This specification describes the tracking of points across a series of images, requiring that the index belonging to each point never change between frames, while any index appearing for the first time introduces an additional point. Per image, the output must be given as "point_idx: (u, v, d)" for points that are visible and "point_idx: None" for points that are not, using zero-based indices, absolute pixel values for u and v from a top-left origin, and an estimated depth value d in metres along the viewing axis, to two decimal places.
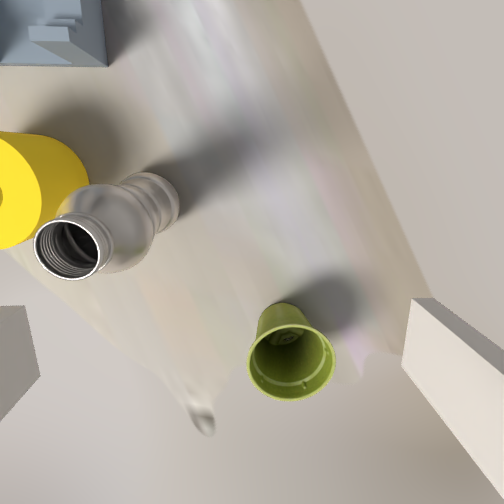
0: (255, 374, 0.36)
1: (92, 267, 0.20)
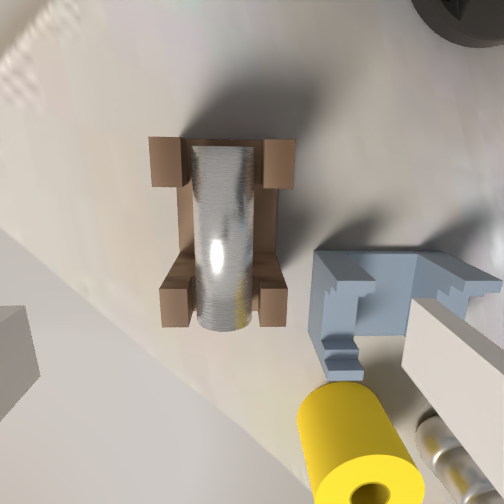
0: None
1: None
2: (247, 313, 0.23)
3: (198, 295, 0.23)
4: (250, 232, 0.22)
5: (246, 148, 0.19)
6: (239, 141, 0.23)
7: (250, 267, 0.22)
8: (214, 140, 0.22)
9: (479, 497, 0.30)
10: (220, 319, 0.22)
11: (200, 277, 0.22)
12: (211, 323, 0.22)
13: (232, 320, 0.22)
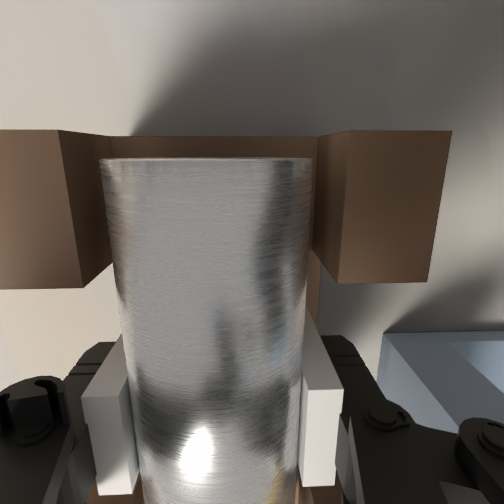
0: None
1: None
2: None
3: None
4: (297, 410, 0.07)
5: (293, 165, 0.05)
6: (256, 140, 0.08)
7: (293, 489, 0.08)
8: (188, 139, 0.08)
9: None
10: None
11: None
12: None
13: None
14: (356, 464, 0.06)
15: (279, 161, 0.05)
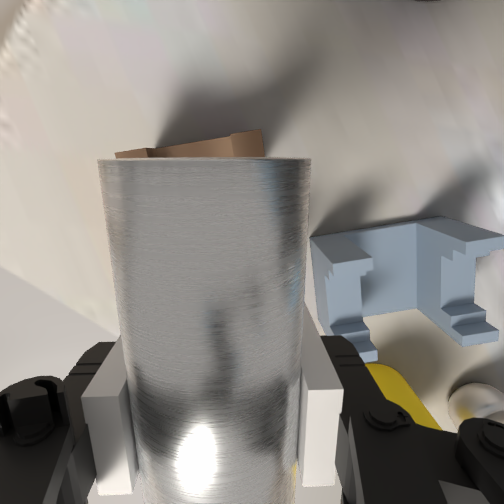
0: None
1: None
2: None
3: None
4: (296, 409, 0.07)
5: (291, 165, 0.05)
6: (208, 141, 0.22)
7: (293, 489, 0.08)
8: (183, 144, 0.22)
9: None
10: None
11: None
12: None
13: None
14: (356, 465, 0.06)
15: (277, 161, 0.05)
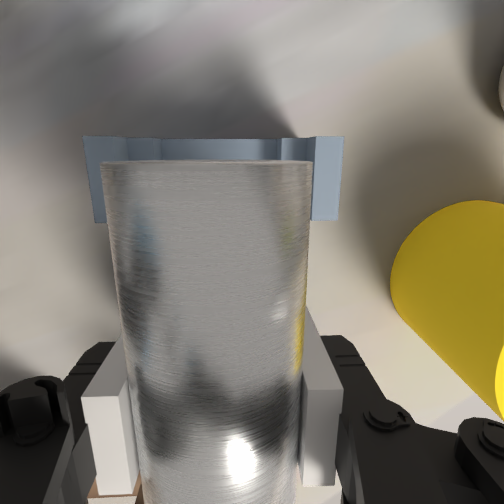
0: None
1: None
2: None
3: None
4: (297, 412, 0.07)
5: (293, 169, 0.05)
6: None
7: (293, 491, 0.08)
8: None
9: None
10: None
11: None
12: None
13: None
14: (356, 465, 0.06)
15: (279, 165, 0.05)
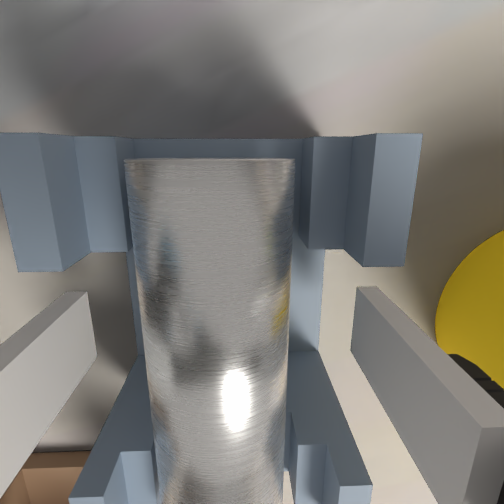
0: None
1: None
2: None
3: (161, 499, 0.10)
4: (283, 369, 0.09)
5: (276, 164, 0.07)
6: None
7: (281, 440, 0.09)
8: None
9: None
10: None
11: (163, 474, 0.09)
12: None
13: None
14: None
15: (264, 161, 0.06)
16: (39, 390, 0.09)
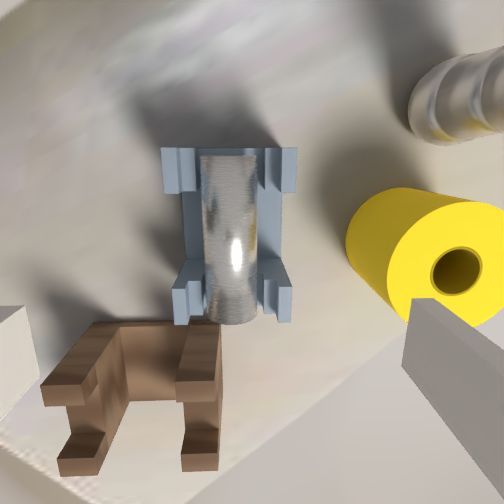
0: None
1: None
2: (253, 308, 0.25)
3: (207, 291, 0.25)
4: (254, 233, 0.23)
5: (249, 157, 0.21)
6: None
7: (255, 265, 0.24)
8: (68, 416, 0.28)
9: (489, 119, 0.20)
10: (227, 313, 0.24)
11: (209, 275, 0.24)
12: (219, 317, 0.24)
13: (238, 314, 0.24)
14: None
15: (245, 156, 0.21)
16: None
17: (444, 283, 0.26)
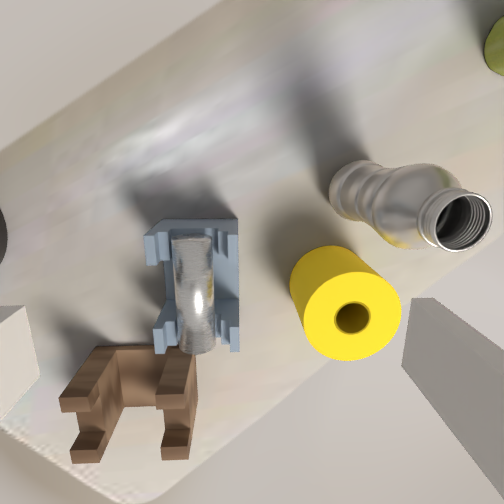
0: None
1: (471, 210, 0.21)
2: (211, 342, 0.35)
3: (178, 330, 0.34)
4: (211, 291, 0.33)
5: (204, 242, 0.31)
6: None
7: (212, 312, 0.34)
8: (77, 419, 0.38)
9: (364, 220, 0.30)
10: (192, 346, 0.34)
11: (179, 320, 0.34)
12: (187, 349, 0.34)
13: (200, 347, 0.34)
14: None
15: (201, 242, 0.31)
16: None
17: (350, 323, 0.35)
